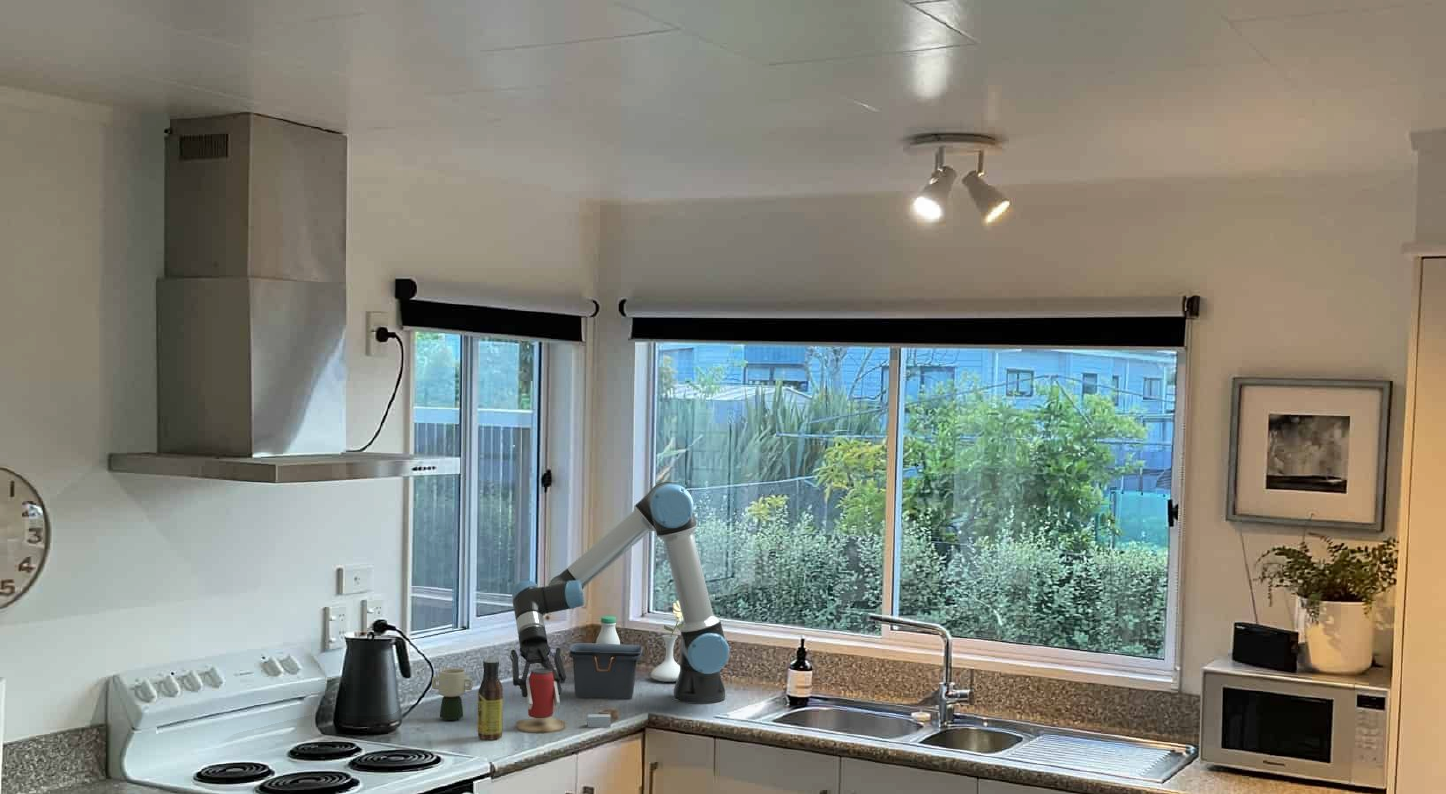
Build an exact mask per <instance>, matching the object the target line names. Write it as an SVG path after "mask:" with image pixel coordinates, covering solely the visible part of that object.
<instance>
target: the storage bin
mask: <svg viewBox="0 0 1446 794" xmlns="http://www.w3.org/2000/svg"><path fill="white" fill-rule="evenodd" d="M643 649H644V647H643V646H642V645H637V644H621V643H620V644H597V643H596V642H595V643H594V642H593V643H592V642H575V643H571V644H570V645H569V647H568V651H569V658H572V665H573V667H572V668H573V669H572V670H573V684H574V696H575V697H576V698H578V699H581V698H582V699H583V698H584V699H611V700H612V699H613V700H631V699H633V694H634V690H635V681H636V674H637V667H638V660H641V657H642V654H643V653H642V652H643Z"/></svg>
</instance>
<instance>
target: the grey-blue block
mask: <svg viewBox="0 0 1446 794" xmlns="http://www.w3.org/2000/svg"><path fill="white" fill-rule="evenodd" d="M586 723H587V724H586V725H588V726H587V728H588V727H602V729H604V728H606V729H607V728H611V727H612V726H611V724H612V723H611V716H610V714H599V713H598V714H597V713H596V714H594V713H593V714H589V713H587V722H586Z"/></svg>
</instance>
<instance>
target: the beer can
mask: <svg viewBox="0 0 1446 794" xmlns="http://www.w3.org/2000/svg"><path fill="white" fill-rule="evenodd" d="M528 682H529V684H530V690H531V697H532V703H533V704H532V707H531V709H528V708H527V714H528V716H529V718H551V717H552V716H553V714H554V704H555V703H554V676H553V673H552V670H551V669H546V668H544V667H543V668H540V667H539V668H533V669H531V670H530V674H529V677H528Z"/></svg>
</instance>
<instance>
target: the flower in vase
mask: <svg viewBox="0 0 1446 794" xmlns="http://www.w3.org/2000/svg"><path fill="white" fill-rule="evenodd" d="M671 610H672V615H673V616H674V618H675V619H676V622H675V625H674V628H673V627H668V626H666V625H665V624H664V625H663V629H664V630H665V631H669V632H671V633H670V634H663V635H661V637H662V639H663V641H664V643H665V659H664V660H663V661H662V662H661V663H660V664H659V665H658V666H656V667H655V668H654V669H653V670H652V671H651V673H650V676H651V678H652V679H653V680H655V681H659V682H667V683H668V682H669V683H670V682H671V683H672V682H677V679H678V676H679V673H680V664H679V663H677V662H676V661H675V659H674V646H675V643H676V640H677V639H678V635H677V634H673V633H674V632H675V631H676V628H677V630H679V631H680V628H681V623H682V621H683V616H682V612H681V608H680V604H679V600H678V599H677V600H676V602H674V603H673V604H672V609H671ZM678 622H680V623H678Z"/></svg>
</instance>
